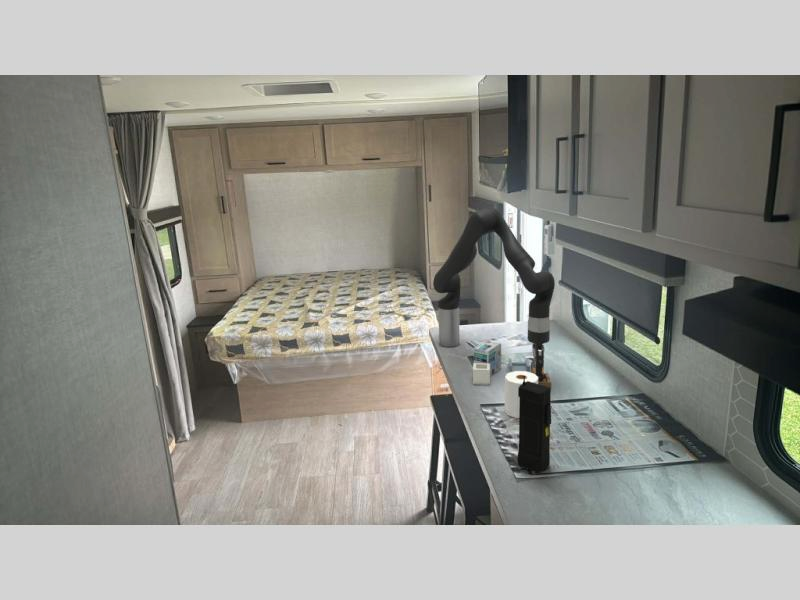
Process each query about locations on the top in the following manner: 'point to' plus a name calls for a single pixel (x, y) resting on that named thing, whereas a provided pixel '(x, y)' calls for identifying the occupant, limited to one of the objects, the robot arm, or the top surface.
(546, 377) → the trough
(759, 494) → the top surface
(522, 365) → the tray
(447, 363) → the top surface
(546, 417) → the portable radio
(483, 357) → the light bulb box
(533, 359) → the cell
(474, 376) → the pot
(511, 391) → the toilet paper
